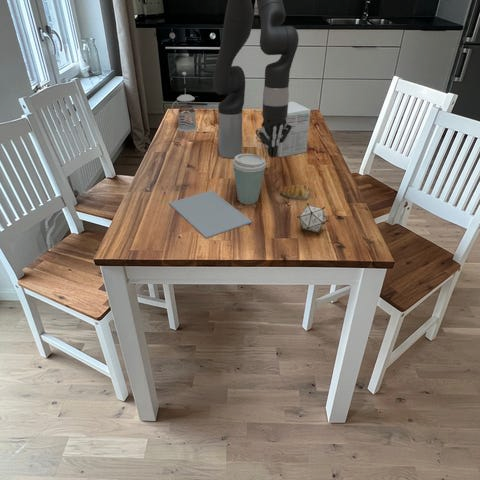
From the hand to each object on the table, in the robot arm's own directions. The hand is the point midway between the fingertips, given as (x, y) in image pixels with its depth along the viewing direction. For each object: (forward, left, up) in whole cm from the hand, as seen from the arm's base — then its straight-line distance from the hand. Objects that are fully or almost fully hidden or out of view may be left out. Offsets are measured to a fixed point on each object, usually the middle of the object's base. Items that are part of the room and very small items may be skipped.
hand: (272, 156), depth 133 cm
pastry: (+6, +7, -14) cm, 16 cm away
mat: (0, -24, -13) cm, 27 cm away
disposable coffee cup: (0, -9, -14) cm, 16 cm away
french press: (-73, +6, -14) cm, 75 cm away
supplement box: (-28, +29, -14) cm, 43 cm away
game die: (+25, -4, -14) cm, 29 cm away
